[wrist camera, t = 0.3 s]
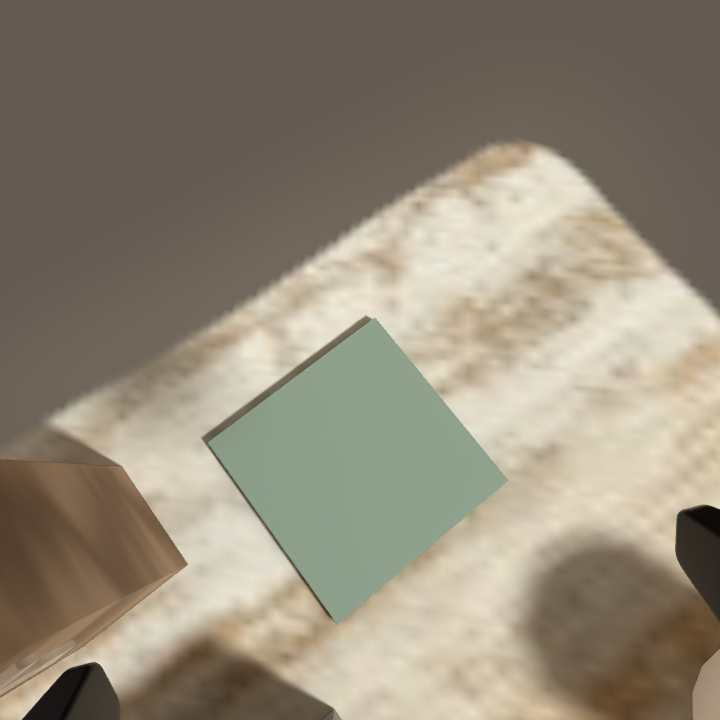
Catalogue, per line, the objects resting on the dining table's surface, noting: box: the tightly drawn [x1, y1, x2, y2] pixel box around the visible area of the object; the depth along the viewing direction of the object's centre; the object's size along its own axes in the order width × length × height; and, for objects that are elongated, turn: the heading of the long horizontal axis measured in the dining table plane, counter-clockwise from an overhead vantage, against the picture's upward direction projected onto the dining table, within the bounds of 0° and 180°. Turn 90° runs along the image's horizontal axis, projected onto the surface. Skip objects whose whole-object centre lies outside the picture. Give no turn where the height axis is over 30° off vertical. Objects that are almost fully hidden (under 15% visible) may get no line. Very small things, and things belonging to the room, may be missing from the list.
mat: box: [208, 318, 508, 624], centre depth 23 cm, size 9×9×1 cm
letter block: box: [0, 459, 188, 698], centre depth 16 cm, size 5×5×12 cm
